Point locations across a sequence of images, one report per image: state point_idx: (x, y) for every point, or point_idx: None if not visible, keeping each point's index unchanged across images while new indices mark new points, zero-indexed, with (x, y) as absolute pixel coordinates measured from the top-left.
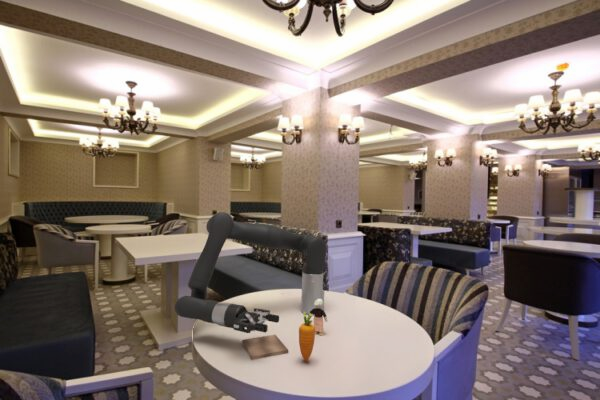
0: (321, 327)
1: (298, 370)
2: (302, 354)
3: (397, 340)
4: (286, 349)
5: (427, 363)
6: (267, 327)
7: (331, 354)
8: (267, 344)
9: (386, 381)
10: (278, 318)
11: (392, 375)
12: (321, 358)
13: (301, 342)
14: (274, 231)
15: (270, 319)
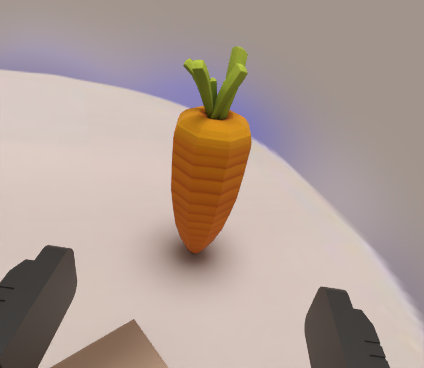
0: None
1: (262, 267)
2: (214, 236)
3: (21, 95)
4: (131, 328)
5: (131, 90)
6: (318, 296)
7: (119, 193)
8: None
9: None
10: (72, 258)
11: None
12: (154, 215)
13: (235, 194)
14: None
15: (33, 358)
